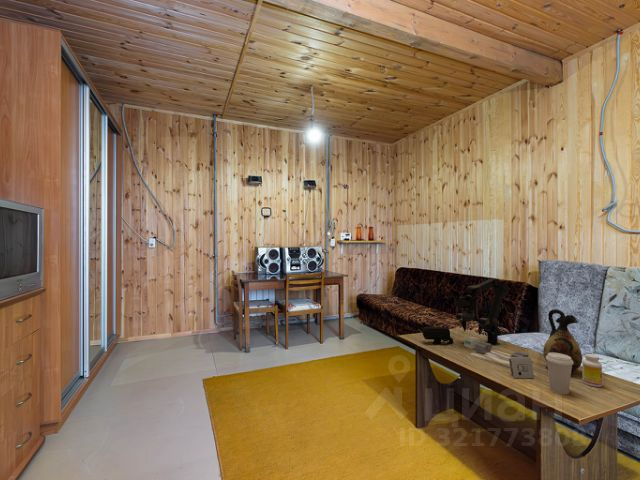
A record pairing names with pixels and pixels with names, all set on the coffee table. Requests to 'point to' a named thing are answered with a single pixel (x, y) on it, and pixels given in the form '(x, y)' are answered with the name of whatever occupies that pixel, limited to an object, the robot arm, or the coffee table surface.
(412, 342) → the coffee table surface
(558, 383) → the coffee cup
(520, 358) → the electrical switch
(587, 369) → the supplement bottle
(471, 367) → the coffee table surface
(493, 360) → the rail panel
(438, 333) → the security camera
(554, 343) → the ceramic jug
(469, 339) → the module block
